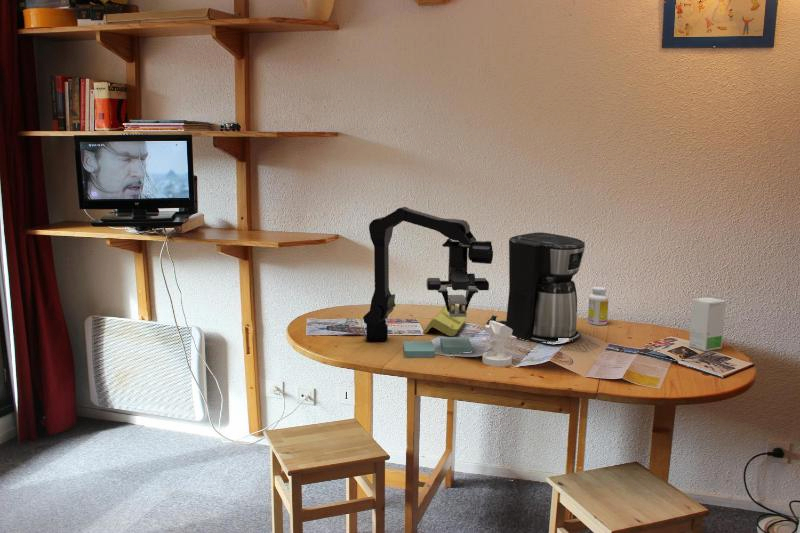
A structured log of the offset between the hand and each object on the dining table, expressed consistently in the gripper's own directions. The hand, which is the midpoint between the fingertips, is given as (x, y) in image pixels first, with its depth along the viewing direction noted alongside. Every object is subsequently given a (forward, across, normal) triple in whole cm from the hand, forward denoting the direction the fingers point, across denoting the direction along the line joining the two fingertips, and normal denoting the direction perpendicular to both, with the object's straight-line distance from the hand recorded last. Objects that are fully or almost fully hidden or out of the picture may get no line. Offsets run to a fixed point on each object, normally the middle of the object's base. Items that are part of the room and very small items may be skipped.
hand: (456, 311), depth 209 cm
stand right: (+12, 0, 0) cm, 12 cm away
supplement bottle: (+12, +54, +29) cm, 63 cm away
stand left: (+12, -12, -4) cm, 17 cm away
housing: (+1, 0, 0) cm, 1 cm away
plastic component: (+12, 0, +22) cm, 26 cm away
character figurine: (+12, +11, -13) cm, 21 cm away
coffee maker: (+12, +30, +18) cm, 37 cm away
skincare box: (+12, +79, 0) cm, 80 cm away
